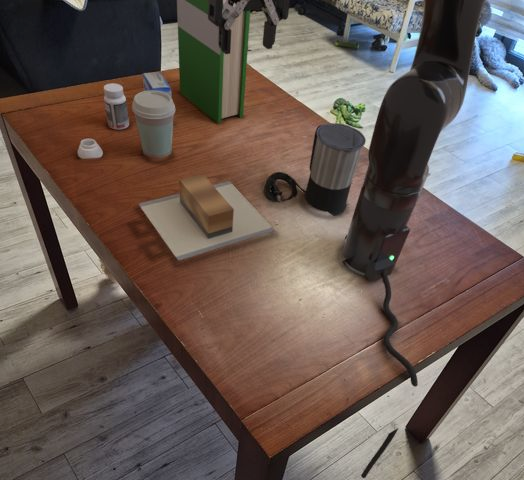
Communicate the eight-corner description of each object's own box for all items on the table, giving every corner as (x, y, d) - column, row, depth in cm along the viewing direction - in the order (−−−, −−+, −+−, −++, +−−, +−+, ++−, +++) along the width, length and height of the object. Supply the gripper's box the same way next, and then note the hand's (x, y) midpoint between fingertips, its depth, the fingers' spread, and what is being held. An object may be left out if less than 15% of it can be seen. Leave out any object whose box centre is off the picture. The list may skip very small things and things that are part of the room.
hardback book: (242, 117, 117) (250, 2, 98) (218, 123, 114) (221, 6, 95) (204, 87, 125) (204, -25, 106) (180, 92, 121) (176, -22, 102)
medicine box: (145, 111, 114) (141, 72, 107) (163, 109, 115) (160, 71, 108) (154, 127, 109) (151, 88, 103) (173, 125, 111) (171, 86, 104)
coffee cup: (182, 163, 101) (180, 107, 92) (142, 168, 99) (136, 110, 89) (171, 143, 106) (168, 87, 96) (133, 147, 103) (126, 90, 94)
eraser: (232, 231, 87) (233, 209, 83) (208, 239, 85) (208, 216, 81) (202, 196, 93) (203, 173, 89) (179, 202, 91) (178, 179, 87)
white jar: (80, 163, 98) (105, 160, 99) (77, 149, 95) (102, 147, 97) (76, 150, 100) (100, 148, 102) (73, 137, 98) (98, 135, 99)
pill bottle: (131, 121, 110) (127, 84, 103) (126, 131, 107) (121, 93, 100) (111, 118, 110) (105, 80, 103) (105, 128, 107) (99, 90, 100)
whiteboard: (274, 235, 90) (275, 230, 89) (178, 265, 82) (178, 260, 81) (229, 186, 98) (229, 180, 97) (138, 209, 90) (138, 203, 89)
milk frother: (355, 211, 97) (376, 142, 86) (293, 231, 91) (306, 160, 79) (315, 175, 104) (330, 107, 92) (255, 191, 98) (262, 120, 86)
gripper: (225, -64, 65) (221, 63, 78) (308, -66, 70) (291, 54, 83) (200, -79, 68) (200, 45, 81) (281, -79, 74) (269, 37, 87)
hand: (246, 49), depth 82 cm, fingers open, 8 cm apart
